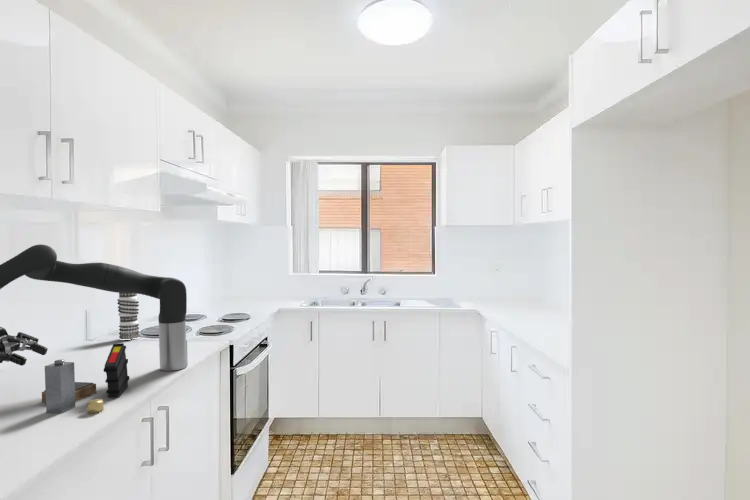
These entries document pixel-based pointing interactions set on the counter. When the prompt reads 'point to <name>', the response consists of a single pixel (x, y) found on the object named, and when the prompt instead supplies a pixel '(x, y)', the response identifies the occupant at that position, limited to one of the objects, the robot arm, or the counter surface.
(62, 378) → the block
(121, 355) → the black ridged block
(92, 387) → the stand
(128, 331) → the decorative candle
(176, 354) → the robot arm
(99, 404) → the short brass cylinder
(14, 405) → the counter surface
